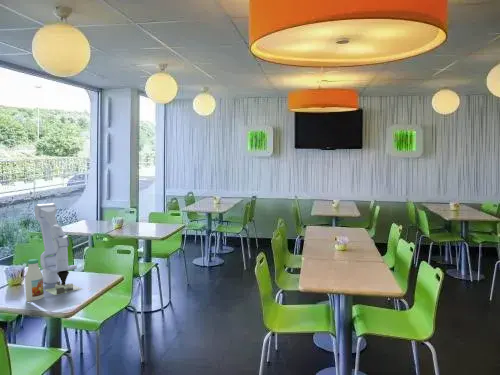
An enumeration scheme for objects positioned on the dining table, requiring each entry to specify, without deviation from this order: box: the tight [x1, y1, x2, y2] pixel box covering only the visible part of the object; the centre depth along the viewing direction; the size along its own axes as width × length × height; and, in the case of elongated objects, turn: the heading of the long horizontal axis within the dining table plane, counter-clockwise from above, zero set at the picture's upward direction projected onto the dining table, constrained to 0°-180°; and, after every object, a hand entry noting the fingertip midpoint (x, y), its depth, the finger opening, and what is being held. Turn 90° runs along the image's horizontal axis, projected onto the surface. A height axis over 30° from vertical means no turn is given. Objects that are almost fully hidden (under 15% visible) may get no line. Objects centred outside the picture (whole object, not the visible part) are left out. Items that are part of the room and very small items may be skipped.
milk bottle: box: [24, 258, 45, 303], centre depth 210 cm, size 8×8×20 cm
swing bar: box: [54, 280, 74, 290], centre depth 224 cm, size 10×3×3 cm, turn 69°
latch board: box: [44, 284, 83, 296], centre depth 224 cm, size 13×14×4 cm
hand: (63, 285), depth 227 cm, fingers closed, pressing on swing bar
